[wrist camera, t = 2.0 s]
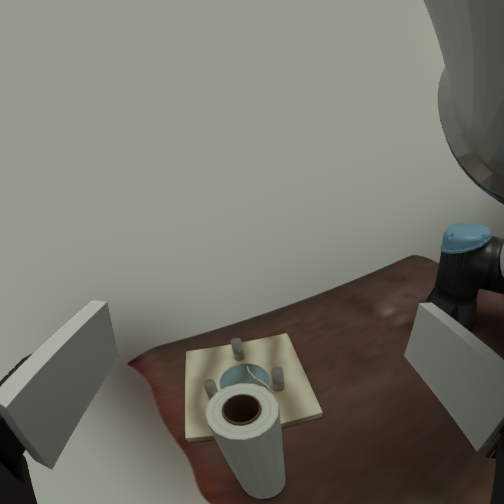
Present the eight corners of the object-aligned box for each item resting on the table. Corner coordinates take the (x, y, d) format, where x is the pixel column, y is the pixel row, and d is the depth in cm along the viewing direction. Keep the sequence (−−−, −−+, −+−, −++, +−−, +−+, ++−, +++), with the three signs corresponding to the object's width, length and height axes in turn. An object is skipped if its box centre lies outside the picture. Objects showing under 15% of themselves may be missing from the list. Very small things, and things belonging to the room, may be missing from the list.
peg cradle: (287, 338, 57) (285, 316, 55) (321, 416, 37) (324, 396, 35) (188, 356, 55) (180, 335, 53) (188, 442, 35) (176, 424, 32)
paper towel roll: (267, 506, 23) (244, 452, 15) (233, 485, 27) (189, 411, 19) (299, 472, 28) (302, 391, 20) (265, 454, 32) (246, 364, 24)
